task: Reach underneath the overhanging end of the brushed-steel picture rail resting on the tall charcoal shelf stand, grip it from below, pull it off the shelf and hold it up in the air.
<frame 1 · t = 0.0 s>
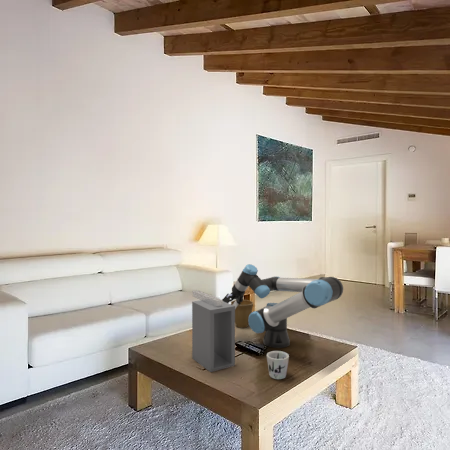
hand: (224, 312, 228), 15 cm above the table, tool tilted 35°, fingers open, 13 cm apart
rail: (206, 301, 196), point 30 cm above the table, touching shelf
mug: (278, 374, 179), on the table
shelf: (213, 362, 192), on the table
plant pot: (241, 326, 250), on the table
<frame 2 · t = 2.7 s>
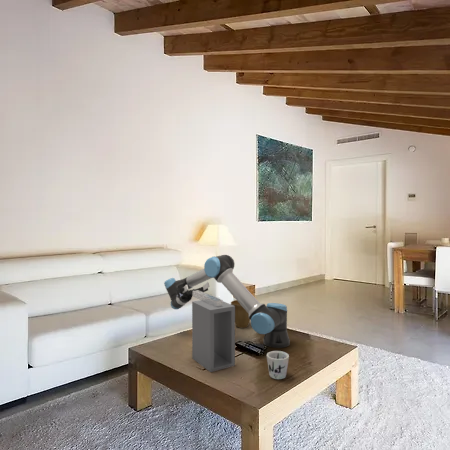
hand: (198, 285, 217), 34 cm above the table, tool pointing upward, fingers open, 13 cm apart
nothing on the table moved.
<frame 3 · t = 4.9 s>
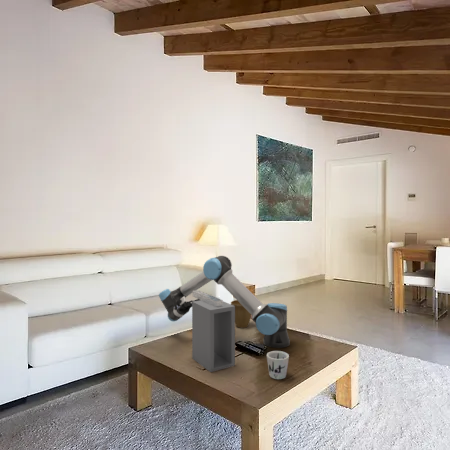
hand: (195, 297, 206), 30 cm above the table, tool pointing upward, fingers open, 13 cm apart
nothing on the table moved.
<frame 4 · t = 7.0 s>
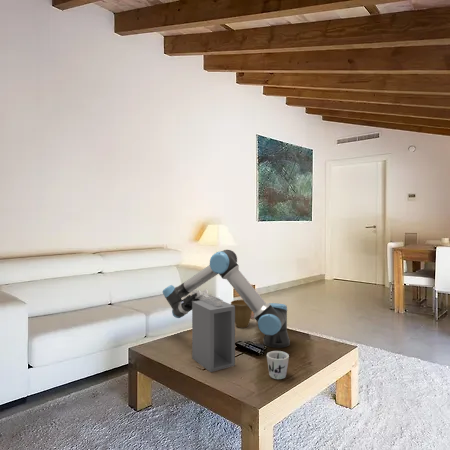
hand: (203, 291, 199), 34 cm above the table, tool pointing upward, fingers closed on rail, 3 cm apart
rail: (206, 301, 196), point 30 cm above the table, touching gripper, shelf
everything else where it was.
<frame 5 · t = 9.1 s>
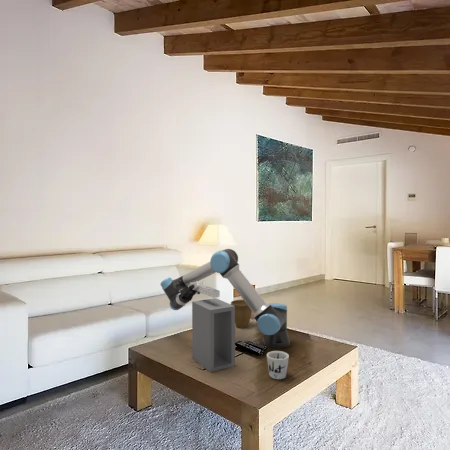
hand: (200, 283, 201), 38 cm above the table, tool pointing upward, fingers closed on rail, 3 cm apart
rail: (203, 292, 198), point 34 cm above the table, touching gripper
everything else where it was.
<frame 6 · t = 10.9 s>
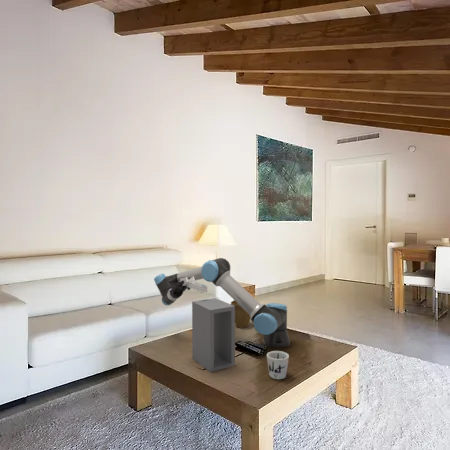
hand: (190, 279, 211), 39 cm above the table, tool pointing upward, fingers closed on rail, 3 cm apart
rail: (193, 287, 208), point 34 cm above the table, touching gripper
everything else where it was.
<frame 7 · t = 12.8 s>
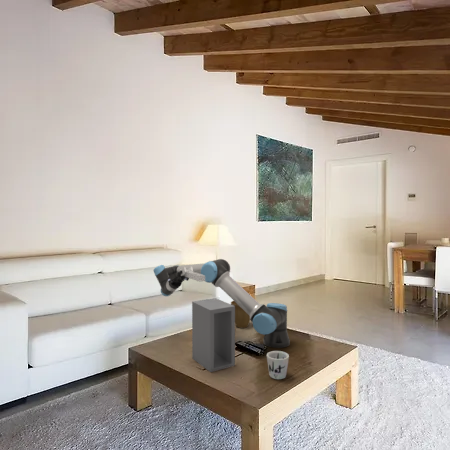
hand: (188, 269, 214), 44 cm above the table, tool pointing upward, fingers closed on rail, 3 cm apart
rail: (191, 277, 211), point 39 cm above the table, touching gripper
everything else where it was.
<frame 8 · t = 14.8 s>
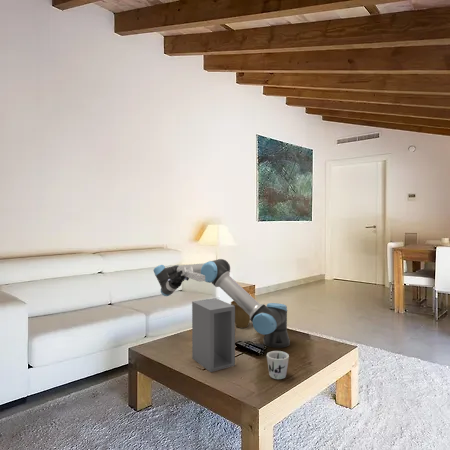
hand: (188, 269, 214), 44 cm above the table, tool pointing upward, fingers closed on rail, 3 cm apart
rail: (191, 277, 211), point 39 cm above the table, touching gripper
everything else where it was.
at the end: the gripper is holding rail; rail touching gripper; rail moved 20.4 cm from its start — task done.
